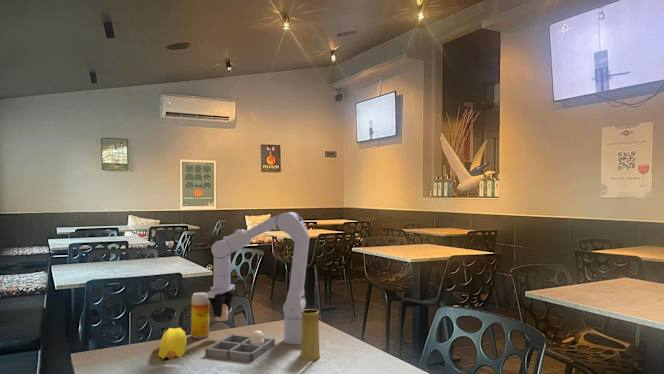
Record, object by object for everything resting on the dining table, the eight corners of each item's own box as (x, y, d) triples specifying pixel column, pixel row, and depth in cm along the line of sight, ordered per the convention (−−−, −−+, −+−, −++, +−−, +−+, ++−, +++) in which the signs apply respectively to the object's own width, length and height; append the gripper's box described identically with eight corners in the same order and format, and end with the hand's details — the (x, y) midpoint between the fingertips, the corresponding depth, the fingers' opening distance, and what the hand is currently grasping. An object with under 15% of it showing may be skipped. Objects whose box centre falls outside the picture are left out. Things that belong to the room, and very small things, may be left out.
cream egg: (266, 346, 153) (266, 329, 153) (260, 351, 149) (260, 333, 149) (254, 345, 154) (254, 328, 155) (247, 349, 150) (247, 331, 150)
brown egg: (230, 318, 164) (230, 302, 164) (223, 321, 160) (224, 305, 160) (219, 317, 166) (219, 301, 166) (212, 320, 161) (212, 304, 161)
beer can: (204, 339, 163) (204, 295, 163) (187, 338, 164) (188, 295, 164) (212, 334, 169) (212, 292, 169) (196, 333, 170) (196, 291, 170)
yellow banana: (157, 363, 140) (184, 361, 142) (157, 340, 141) (184, 338, 142) (162, 344, 158) (187, 343, 160) (163, 324, 158) (187, 323, 160)
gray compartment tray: (274, 348, 154) (274, 338, 154) (252, 364, 139) (252, 354, 139) (231, 343, 159) (231, 334, 159) (205, 358, 144) (205, 348, 144)
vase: (323, 356, 146) (324, 310, 147) (312, 362, 141) (312, 314, 141) (307, 353, 150) (308, 307, 150) (296, 358, 145) (296, 311, 145)
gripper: (222, 271, 171) (222, 309, 171) (199, 277, 157) (199, 319, 157) (240, 272, 169) (239, 310, 169) (218, 279, 155) (218, 320, 155)
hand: (221, 314), depth 163 cm, fingers closed on brown egg, 4 cm apart
